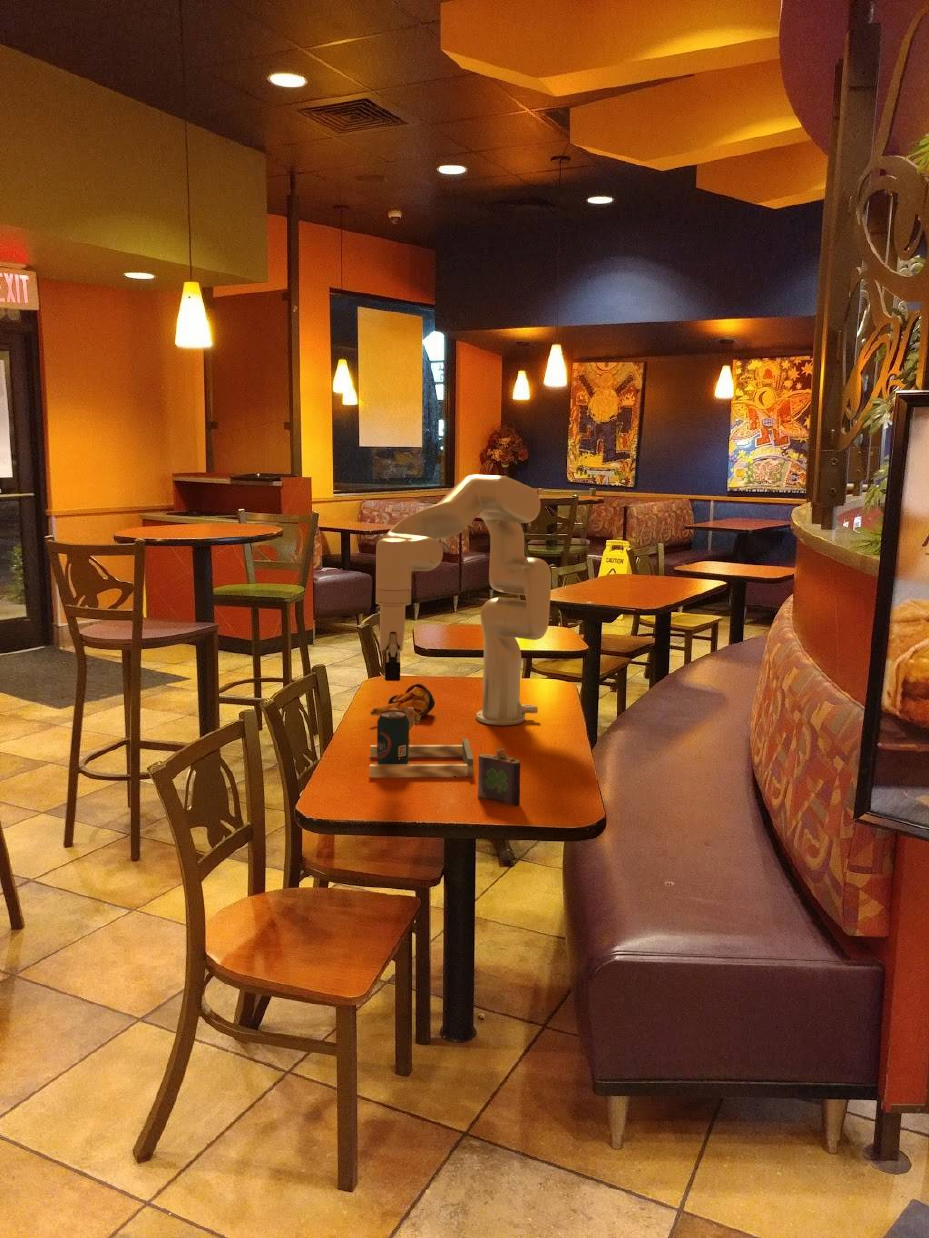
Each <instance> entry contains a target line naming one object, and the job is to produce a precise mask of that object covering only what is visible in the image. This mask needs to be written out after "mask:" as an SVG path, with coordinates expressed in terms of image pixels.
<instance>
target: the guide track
mask: <svg viewBox="0 0 929 1238" xmlns="http://www.w3.org/2000/svg"><path fill="white" fill-rule="evenodd" d="M461 741H462V743H461V744H409V758H462V761H463V763H414V764H413V763H410V764H409V763H407V764H378V763H377V764H374V763H373V764H372V763H371V764H369V769H368V770H369V774H368V775H369V776H368V777H369V778H370V779H371V778H377V779H378V778H379V779H381V778H467V777H466V776H473V777H474V756H473V752H472V749H471V745H470V742H469V738H467V737H466V738H465V737H464V738H462V740H461ZM369 747H370V749H369V750H370V752H369V756H370V758H377V744H370V745H369ZM454 776H456V777H454Z"/></svg>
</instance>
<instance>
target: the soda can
mask: <svg viewBox="0 0 929 1238" xmlns="http://www.w3.org/2000/svg"><path fill="white" fill-rule="evenodd" d="M406 715H407V714H406V712H404V711H400V710H387V711H383V712H381V713H380V715H379V717H378V719H377V721H376V723H377V724H376V729H377V731H376V732H377V733H376V745H377V757H376V763H377V764H409V761H410V757H409V745H410V741H409V739H410V730H409V720H408V718H407V716H406Z"/></svg>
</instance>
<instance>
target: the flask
mask: <svg viewBox="0 0 929 1238" xmlns="http://www.w3.org/2000/svg"><path fill="white" fill-rule="evenodd" d="M504 751H505V748H499V749H498V750H495V753H497V754H496V755H494V754H490V753H481V754H479V755H478V775H477V776H478V777H477V798H478V799H480V800H483V801H485V800H486V801H489V802H492V801H493V802H492V803H500V804H502V805H503V804H504V805H506V806H507V805H508V806H511V807H518V806H520V803H521V802H520V800H521V787H520V786H521V761H520V760H519V759H515V758H514V757H511V756H510V757H509V756H508V755H507V753H504Z"/></svg>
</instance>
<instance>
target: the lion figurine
mask: <svg viewBox="0 0 929 1238" xmlns="http://www.w3.org/2000/svg"><path fill="white" fill-rule="evenodd" d="M389 710H398V709H397V708H391V709H389ZM400 711H404V712H406V714H407V715H406V716H407V718H408V720H409V731H411V729H412V728H413V727H414V726H415V724H419V721H421V718H422V717H421V716H420V715H418V714H417V713H416V712H415V711H414V708H413V707H406V708H403V709H402V710H400ZM410 740H411V739H410V738H409V742H410Z"/></svg>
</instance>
